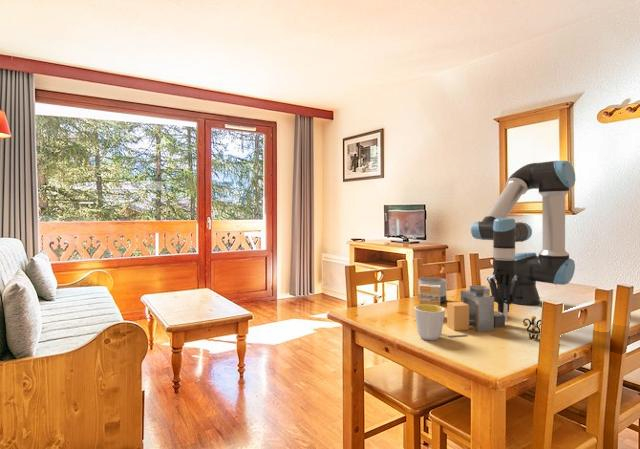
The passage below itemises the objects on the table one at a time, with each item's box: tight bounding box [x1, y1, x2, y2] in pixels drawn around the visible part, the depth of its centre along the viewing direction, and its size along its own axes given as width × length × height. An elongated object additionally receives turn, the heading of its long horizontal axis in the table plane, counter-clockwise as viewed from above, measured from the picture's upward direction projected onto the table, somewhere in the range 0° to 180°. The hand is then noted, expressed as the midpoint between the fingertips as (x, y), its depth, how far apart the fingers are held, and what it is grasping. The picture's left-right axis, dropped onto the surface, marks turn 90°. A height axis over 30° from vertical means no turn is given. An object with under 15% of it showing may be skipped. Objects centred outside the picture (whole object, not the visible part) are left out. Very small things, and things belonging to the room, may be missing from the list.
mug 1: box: [413, 304, 446, 341], centre depth 133 cm, size 14×10×10 cm
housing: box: [460, 287, 495, 333], centre depth 143 cm, size 6×12×14 cm, turn 10°
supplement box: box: [418, 284, 441, 306], centre depth 157 cm, size 8×5×13 cm, turn 70°
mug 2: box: [467, 284, 491, 296], centre depth 163 cm, size 12×8×11 cm
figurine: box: [522, 315, 542, 342], centre depth 129 cm, size 5×5×8 cm
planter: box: [417, 276, 447, 304], centre depth 183 cm, size 13×13×10 cm
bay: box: [443, 320, 468, 338], centre depth 141 cm, size 7×18×1 cm, turn 10°
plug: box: [446, 301, 506, 331], centre depth 143 cm, size 21×5×9 cm, turn 100°
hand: (503, 320), depth 145 cm, fingers closed
